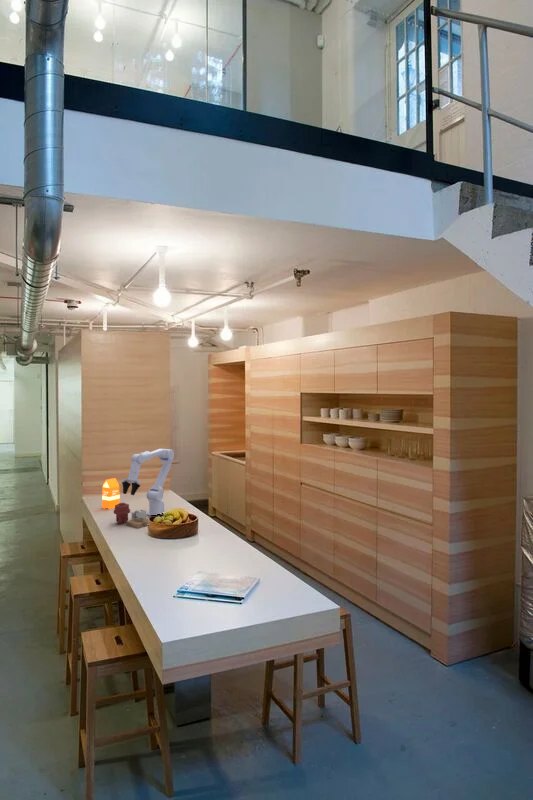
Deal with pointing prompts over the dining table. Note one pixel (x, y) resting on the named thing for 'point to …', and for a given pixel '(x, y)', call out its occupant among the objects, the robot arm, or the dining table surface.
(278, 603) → the dining table surface
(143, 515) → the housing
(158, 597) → the dining table surface
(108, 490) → the orange juice
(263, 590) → the dining table surface
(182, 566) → the dining table surface
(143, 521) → the stand
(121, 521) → the mechanical component
